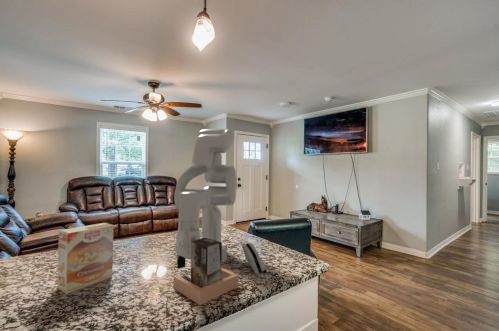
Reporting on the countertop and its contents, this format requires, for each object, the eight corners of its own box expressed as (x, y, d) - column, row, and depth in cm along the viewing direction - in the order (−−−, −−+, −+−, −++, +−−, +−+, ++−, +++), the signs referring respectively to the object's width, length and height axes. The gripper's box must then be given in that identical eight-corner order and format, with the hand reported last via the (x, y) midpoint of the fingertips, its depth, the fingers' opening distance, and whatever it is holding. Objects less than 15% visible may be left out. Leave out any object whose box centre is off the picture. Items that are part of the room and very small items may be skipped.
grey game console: (268, 272, 96) (260, 249, 95) (257, 277, 95) (249, 254, 94) (256, 257, 112) (249, 237, 112) (247, 262, 111) (239, 241, 110)
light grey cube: (216, 265, 103) (216, 250, 104) (207, 261, 107) (207, 247, 108) (226, 261, 108) (226, 247, 108) (217, 257, 112) (217, 244, 112)
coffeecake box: (66, 294, 78) (67, 233, 78) (56, 288, 82) (57, 230, 82) (113, 277, 91) (114, 224, 91) (103, 272, 95) (104, 222, 95)
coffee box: (222, 291, 81) (222, 242, 81) (206, 298, 76) (207, 246, 77) (205, 282, 87) (205, 236, 87) (189, 289, 82) (190, 240, 83)
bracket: (173, 288, 83) (173, 276, 83) (211, 273, 95) (211, 263, 95) (199, 305, 73) (200, 291, 73) (238, 286, 84) (238, 274, 84)
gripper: (167, 222, 94) (167, 267, 94) (193, 230, 82) (193, 282, 82) (185, 220, 100) (184, 262, 99) (211, 227, 88) (211, 275, 88)
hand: (188, 271), depth 91 cm, fingers open, 9 cm apart
